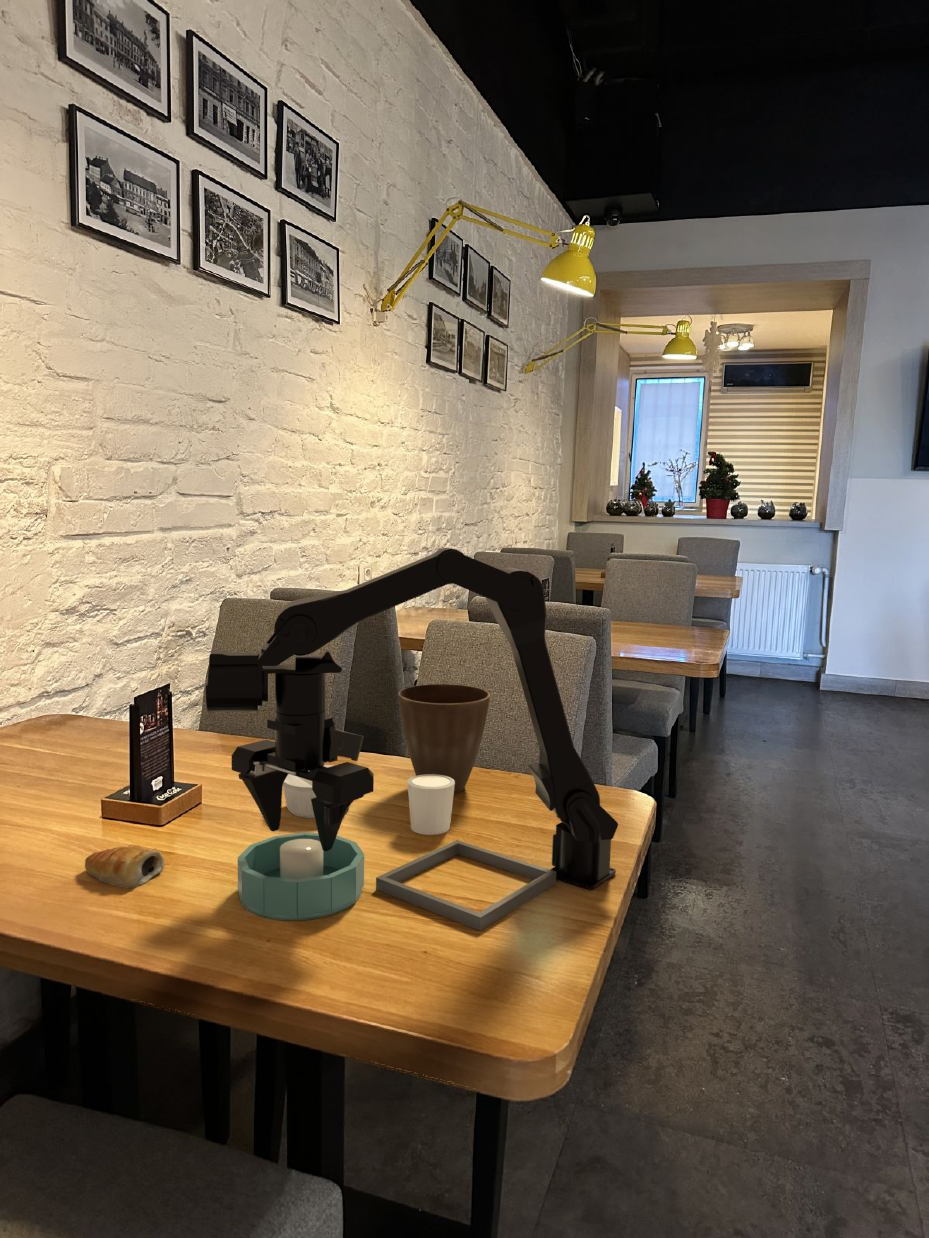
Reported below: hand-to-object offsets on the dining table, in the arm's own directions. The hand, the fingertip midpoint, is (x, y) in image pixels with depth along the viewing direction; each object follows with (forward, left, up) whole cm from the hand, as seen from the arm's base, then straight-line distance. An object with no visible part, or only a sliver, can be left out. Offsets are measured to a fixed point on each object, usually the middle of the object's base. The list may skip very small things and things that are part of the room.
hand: (300, 839), depth 99 cm
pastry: (+20, +11, -7) cm, 24 cm away
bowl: (0, 0, -6) cm, 6 cm away
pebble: (0, 0, -6) cm, 6 cm away
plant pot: (+12, -41, -7) cm, 43 cm away
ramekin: (+20, -21, -7) cm, 30 cm away
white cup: (+2, -26, -7) cm, 27 cm away
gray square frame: (-14, -14, -6) cm, 21 cm away
